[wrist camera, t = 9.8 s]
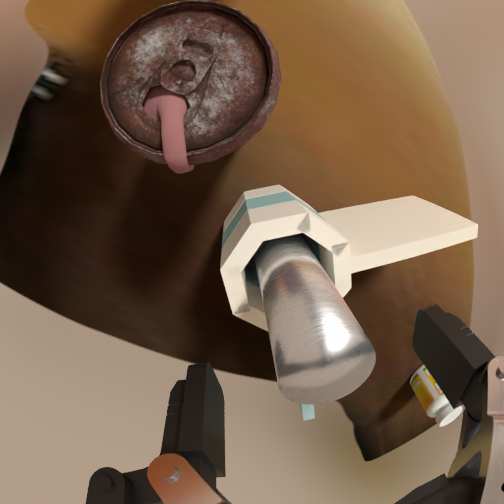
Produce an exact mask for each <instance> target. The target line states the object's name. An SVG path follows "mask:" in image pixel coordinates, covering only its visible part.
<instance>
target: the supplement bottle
mask: <svg viewBox="0 0 504 504" xmlns="http://www.w3.org/2000/svg"><path fill="white" fill-rule="evenodd" d="M410 385H411V387H412V389H413V391H414V392H415V394H416V396H417V397H418V399H419V401H420V403H421V404H422V406H423V408H424V410H425V411H426V413H427V415H428V416H429V417H436V422H437V423H438V425H439V426H445V425H447V424H449V423H450V422H452V421H453V420H454V419H455V418H456V417H457V416H458V415H459V414H460V413H461V411H462V407H461V406H459V407H457V408H456V409H453V408H452V406H451V404H450V403H449V401H448V400H447V398H446V397H445V395H444V394H443V392H442V391H441V389H440V387H439V386H438V384H437V383H436V381H435V380H434V379H433V377H432V376H431V374H430V373H429V371H428V370H427V368H426V367H425V365H422V366H421V367H419V368H418V369H417V370H416V371H415V372H414V374H413V375H412V377H411V379H410Z"/></svg>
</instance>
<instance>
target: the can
mask: <svg viewBox="0 0 504 504" xmlns="http://www.w3.org/2000/svg"><path fill="white" fill-rule="evenodd" d="M280 83H281V72H280V66H279V60H278V54H277V51H276V49H275V48H274V46H273V44H272V42H271V41H270V39H269V37H268V36H267V34H266V32H265V31H264V30H263V29H262V28H261V27H260V26H258V25H257V24H256V23H255V22H254V21H252V20H251V19H250V18H249V17H247V16H246V15H245V14H243V13H242V12H241V11H240V10H238V9H235V8H232V7H230V6H227V5H224V4H222V3H219V2H216V1H206V0H184V1H179V2H175V3H170V4H166V5H162V6H160V7H158V8H156V9H154V10H152V11H150V12H148V13H146V14H145V15H143V16H141V17H139V18H138V19H136V20H135V21H134V22H133V23H132V24H131V25H130V26H129V27H128V28H127V29H126V30H125V31H123V32H122V33H121V34H120V35H119V36H118V38H117V40H116V41H115V43H114V44H113V46H112V48H111V49H110V51H109V53H108V55H107V56H106V58H105V62H104V65H103V70H102V74H101V78H100V93H101V103H102V108H103V110H104V114H105V116H106V118H107V120H108V122H109V124H110V126H111V128H112V130H113V132H114V134H115V136H117V137H118V138H119V139H120V140H121V141H122V142H123V143H124V144H125V145H126V146H127V147H128V148H129V149H130V150H131V151H132V152H133V153H136V154H138V155H140V156H142V157H144V158H147V159H149V160H151V161H153V162H155V163H159V164H168V166H169V167H170V168H171V169H172V170H173V171H174V172H175V173H178V174H181V173H185V172H189V171H191V170H193V168H194V165H195V164H201V163H207V162H213V161H215V160H217V159H219V158H221V157H223V156H225V155H227V154H229V153H231V152H233V151H236V150H238V149H240V148H241V147H242V146H243V145H244V144H245V143H246V142H248V141H249V140H250V139H251V138H252V137H253V136H254V135H255V134H256V133H257V132H259V131H260V130H261V129H262V127H263V126H264V124H265V122H266V121H267V119H268V117H269V115H270V114H271V112H272V110H273V109H274V107H275V105H276V102H277V97H278V92H279V88H280Z"/></svg>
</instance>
